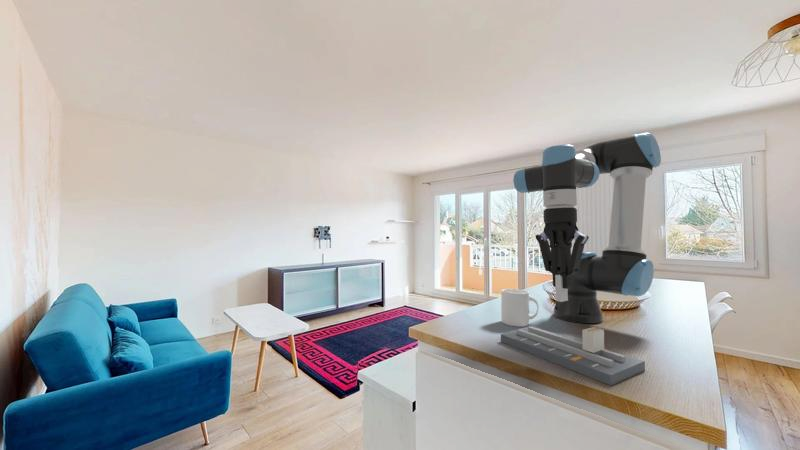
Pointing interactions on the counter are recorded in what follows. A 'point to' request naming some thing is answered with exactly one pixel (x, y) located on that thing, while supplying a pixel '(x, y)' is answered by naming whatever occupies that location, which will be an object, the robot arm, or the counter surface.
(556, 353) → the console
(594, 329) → the fader
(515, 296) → the mug
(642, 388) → the counter surface
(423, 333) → the counter surface
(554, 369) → the counter surface
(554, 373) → the counter surface
